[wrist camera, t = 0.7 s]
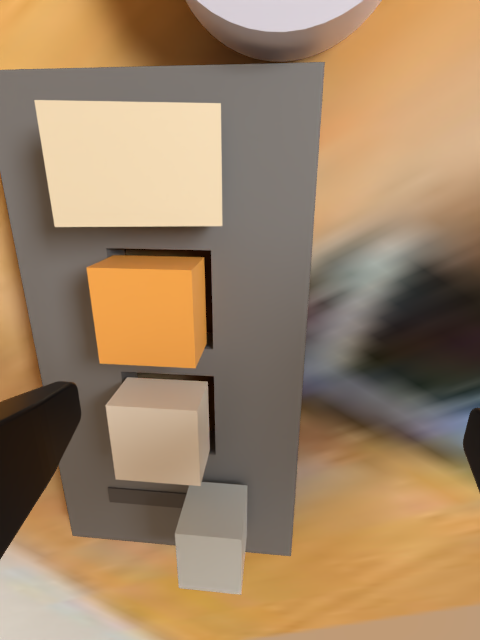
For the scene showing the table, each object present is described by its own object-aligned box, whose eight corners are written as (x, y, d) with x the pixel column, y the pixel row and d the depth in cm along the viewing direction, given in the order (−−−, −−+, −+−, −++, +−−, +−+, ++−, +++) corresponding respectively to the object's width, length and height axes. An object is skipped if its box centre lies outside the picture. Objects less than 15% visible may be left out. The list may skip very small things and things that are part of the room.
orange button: (204, 257, 16) (191, 270, 14) (206, 343, 18) (195, 368, 15) (113, 255, 17) (86, 267, 14) (122, 339, 18) (99, 363, 16)
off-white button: (207, 381, 18) (197, 410, 16) (209, 449, 20) (200, 485, 17) (127, 377, 19) (105, 405, 16) (134, 444, 20) (115, 479, 18)
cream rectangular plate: (220, 108, 14) (221, 103, 13) (221, 223, 15) (222, 225, 14) (46, 105, 13) (34, 100, 12) (64, 224, 15) (54, 227, 14)
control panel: (319, 76, 15) (327, 55, 13) (290, 526, 24) (291, 569, 21) (13, 82, 17) (-37, 64, 14) (88, 508, 25) (65, 547, 22)
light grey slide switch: (247, 485, 20) (241, 539, 17) (246, 535, 21) (241, 594, 18) (190, 480, 20) (174, 533, 17) (193, 530, 21) (179, 588, 18)
